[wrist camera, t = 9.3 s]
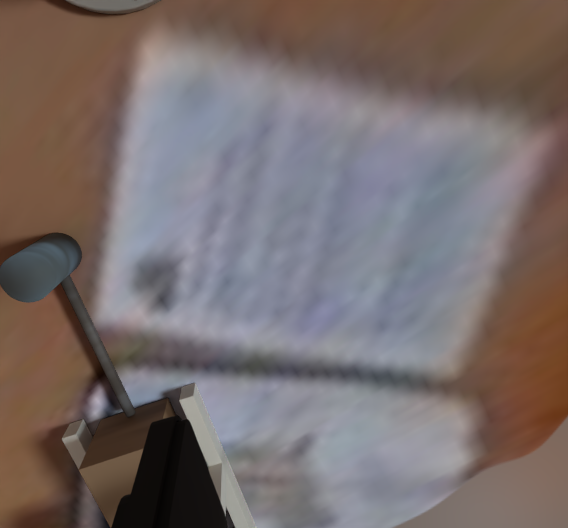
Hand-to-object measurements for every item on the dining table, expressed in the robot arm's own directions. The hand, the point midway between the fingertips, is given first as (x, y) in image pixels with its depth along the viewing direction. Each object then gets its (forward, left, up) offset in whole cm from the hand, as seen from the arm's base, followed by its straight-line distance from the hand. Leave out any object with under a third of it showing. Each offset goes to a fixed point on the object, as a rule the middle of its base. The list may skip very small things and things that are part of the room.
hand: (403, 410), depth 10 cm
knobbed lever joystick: (+8, -17, -27) cm, 33 cm away
